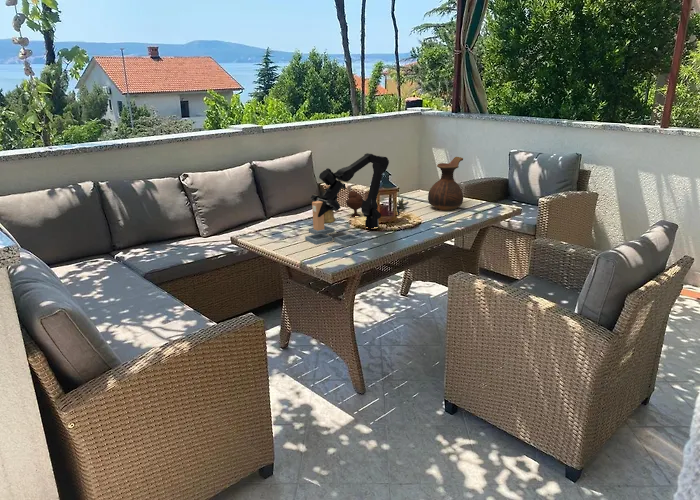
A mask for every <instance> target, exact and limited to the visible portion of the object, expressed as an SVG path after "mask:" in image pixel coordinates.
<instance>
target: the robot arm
mask: <svg viewBox="0 0 700 500" xmlns="http://www.w3.org/2000/svg"><path fill="white" fill-rule="evenodd" d="M370 163H371V164H372V165H371V166H372V169H373V173H372V178H371V182H370V186H369V190H368V194H367V198H366V199H363V202H362V206H361V208H360V210H361V212H362V214H363V217H365V220H364V221H365V222H364V227H368V228H370V229H371V228H374V227H378V226H379V227H380V224H379V222H380V220H379V219H381V217H382V213H381V212H379V210H378V201H377V200H378V199H377V198H378V196H379V191H380V187H381V183H382V180H383V174H385V172H386V171H387V169H388V167H389V163H390V160H389V158H388V157H387V156H380V155H375V154H373V153H368V152H366V153H365V154H364V155H363V156H361V157H360V158H358V159H357V160H355V161H354V162H353V163H352V164H350V165H348V166H345V167H341V168H339V169H337V171H336V172H333V171H332V169H331V168H327V167H326V169H325V170H323V171H322V172H320V173H319V176H318V178H319V179H320V180H321V181H322V183H324V184H325V185H326V186H328V188H325V189H324V191H325V192H324V193H323V194H321V195H318V194H317V195H313V194H312V195H311V197H310V200H311V201H312V202H315V201H321V202H323V203H322V206H321V208H320V211H319V213H318V217H321V216H322V215H323V214H324V213H326V212H327V211H329V210H333V212H338V211H339V210H340V209H341V208H342V207H341V205H340V203H339V201H338V198H339V196H338V195H339V193H340V191H341V190H342V189H343V190H346V189H347V187H346V183H348V182H350V180H351V179H352V178H353V177H354V176H355V174H356V173H357V172H358V171H360V170H361V169H363V168H364V167H366V166H368V164H370ZM384 170H385V171H384ZM344 182H346V183H344ZM319 196H320V197H321V198H320V197H319ZM365 230H366V231H370V230H369V229H367V228H365Z"/></svg>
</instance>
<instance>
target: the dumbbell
mask: <svg viewBox="0 0 700 500" xmlns="http://www.w3.org/2000/svg"><path fill="white" fill-rule="evenodd" d="M409 203H410V202H409V201H406V202H404V197H403V196H401V199H398V201H397V204H396V206H397V212H398V214H399V215H400V214H401V212H403V211H405V206H407V205H408V204H409ZM400 211H401V212H400Z"/></svg>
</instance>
